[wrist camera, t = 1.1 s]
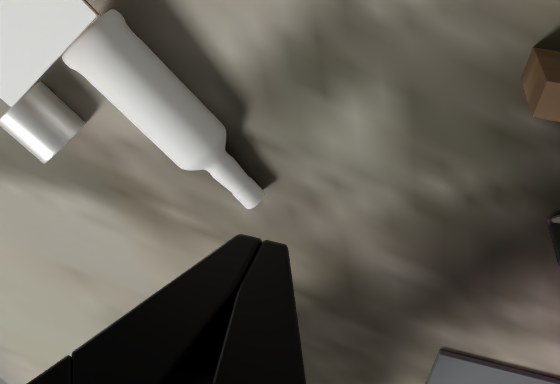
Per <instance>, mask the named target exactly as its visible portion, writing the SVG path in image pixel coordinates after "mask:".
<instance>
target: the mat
mask: <svg viewBox="0 0 560 384" xmlns="http://www.w3.org/2000/svg"><path fill="white" fill-rule="evenodd" d="M426 384H560V380H559V379H555V378H551V377H547V376H543V375H539V374H535V373H531V372H527V371H523V370H519V369H515V368H511V367H507V366H503V365H499V364H495V363H491V362H487V361H483V360H479V359H475V358H471V357H467V356H463V355H459V354H455V353H451V352H447V351H443V350H439V353H438V355H437V357H436V360H435V362H434V365H433V367H432V369H431V372H430V374H429V377H428V379H427V381H426Z"/></svg>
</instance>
